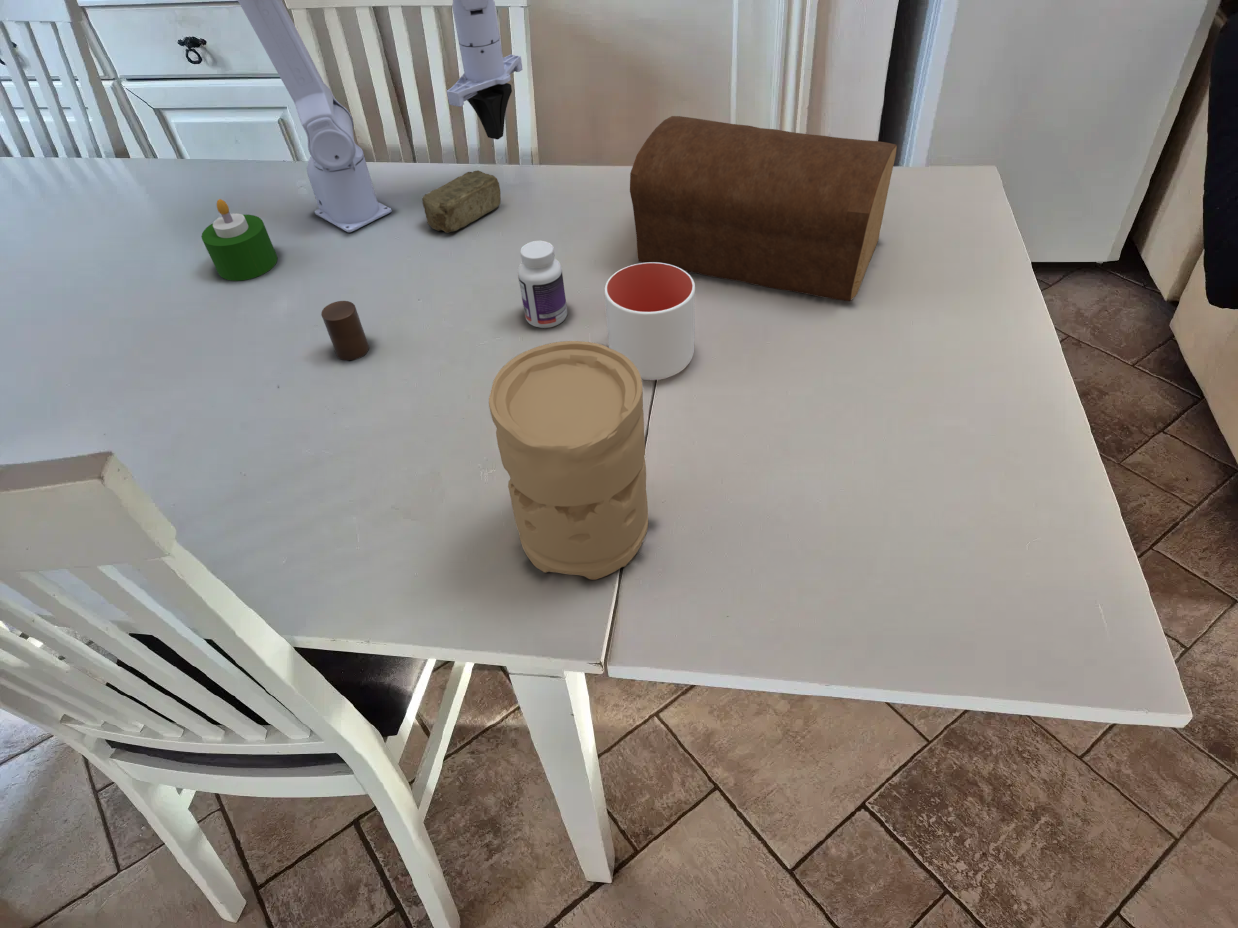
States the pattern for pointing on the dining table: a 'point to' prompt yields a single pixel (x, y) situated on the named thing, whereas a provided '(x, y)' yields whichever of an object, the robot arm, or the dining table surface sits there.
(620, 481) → the container
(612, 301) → the cup
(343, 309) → the post
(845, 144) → the bread
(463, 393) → the dining table surface
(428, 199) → the stone block
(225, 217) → the candle
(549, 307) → the pill bottle
